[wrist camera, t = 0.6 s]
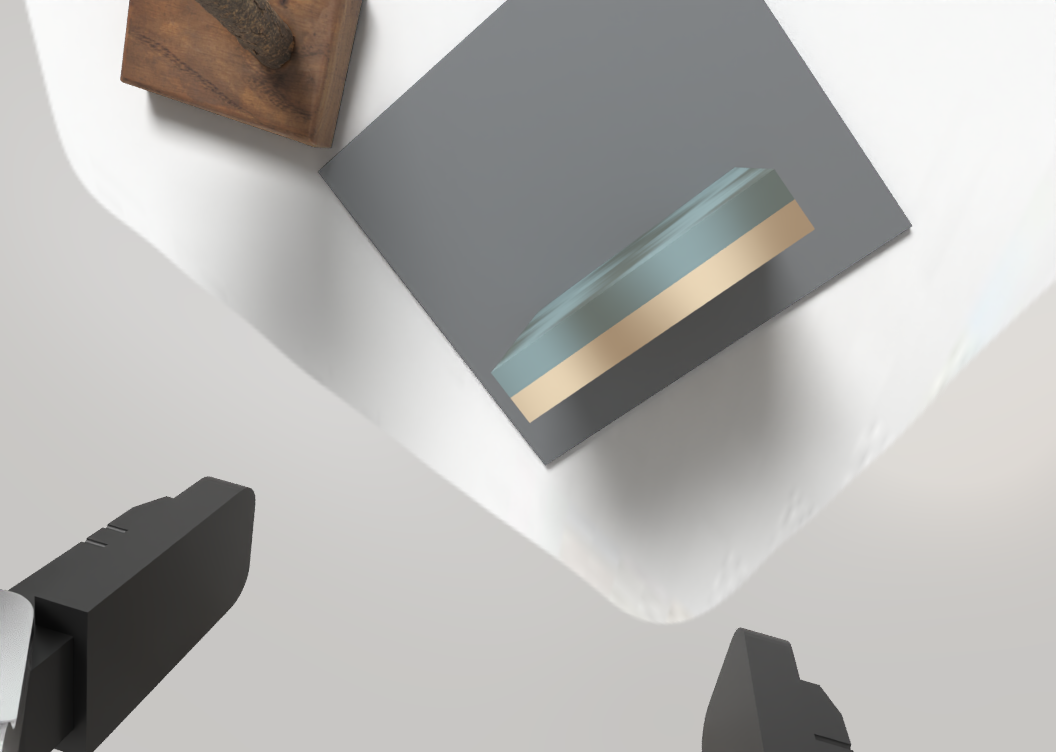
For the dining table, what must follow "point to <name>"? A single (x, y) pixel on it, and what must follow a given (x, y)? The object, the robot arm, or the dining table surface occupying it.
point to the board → (651, 286)
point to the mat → (602, 178)
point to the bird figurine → (246, 59)
